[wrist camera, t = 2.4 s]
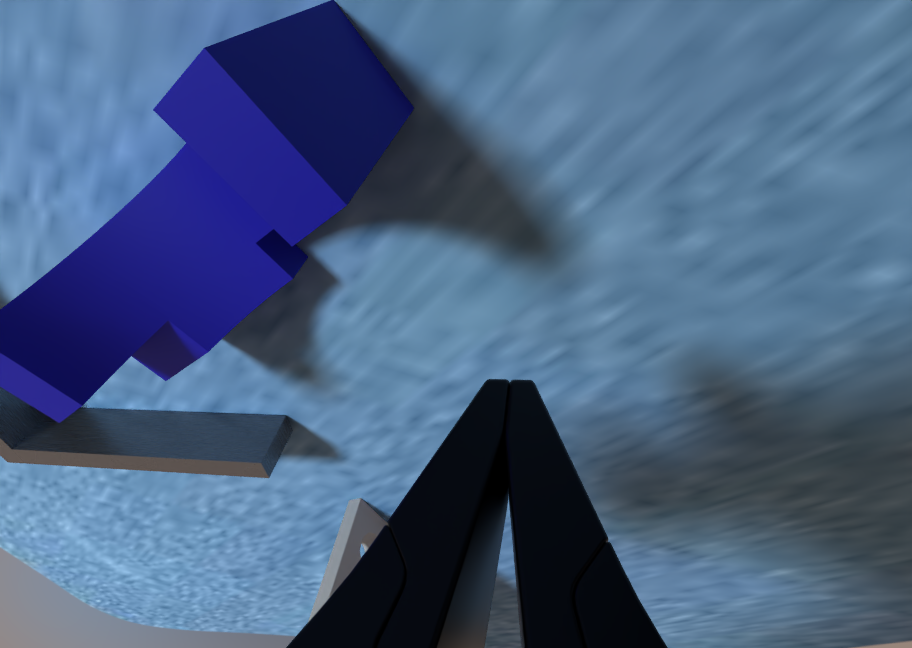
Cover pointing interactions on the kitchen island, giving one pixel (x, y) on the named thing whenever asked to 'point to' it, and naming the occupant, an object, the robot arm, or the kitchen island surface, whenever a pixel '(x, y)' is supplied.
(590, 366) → the kitchen island surface
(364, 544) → the hinge
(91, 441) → the rail bay
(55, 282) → the blue stepped block
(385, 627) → the robot arm
